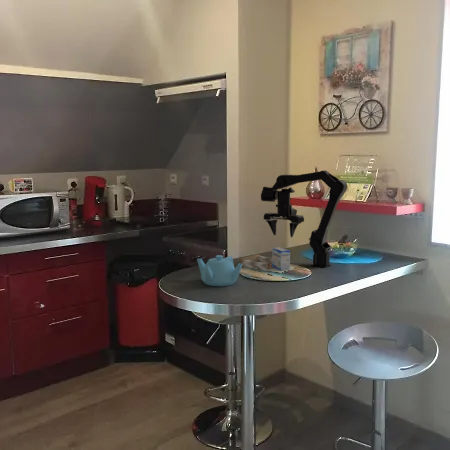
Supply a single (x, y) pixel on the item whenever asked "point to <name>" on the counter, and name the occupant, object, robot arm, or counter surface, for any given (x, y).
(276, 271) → the mat
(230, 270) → the teapot
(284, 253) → the medicine box
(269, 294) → the counter surface
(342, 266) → the counter surface
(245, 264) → the shelf lane
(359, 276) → the counter surface
